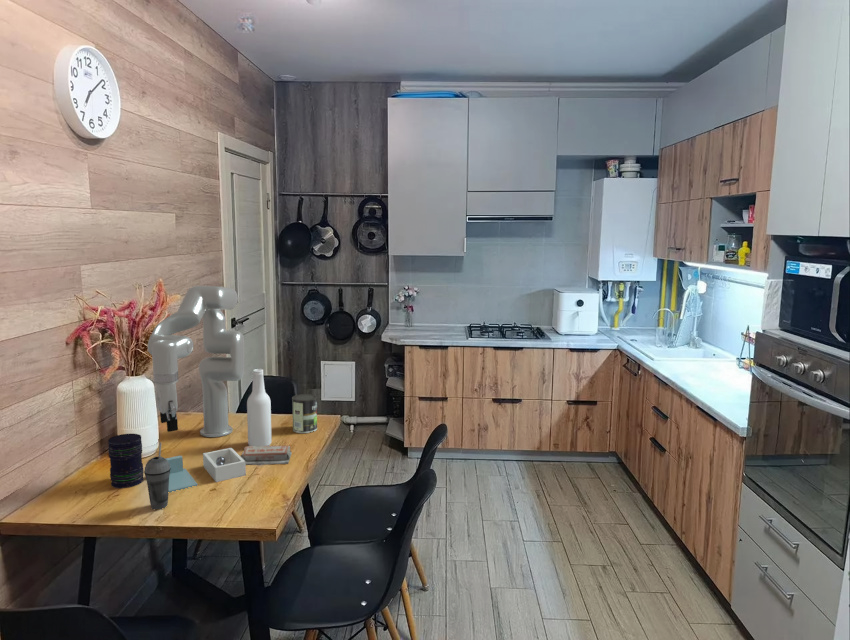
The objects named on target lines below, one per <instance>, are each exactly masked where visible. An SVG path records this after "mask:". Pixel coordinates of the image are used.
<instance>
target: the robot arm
mask: <svg viewBox="0 0 850 640" xmlns="http://www.w3.org/2000/svg"><path fill="white" fill-rule="evenodd" d="M238 302H239V296H238V293H237V291H236V290H235V289H234V288H232V287H226V286H218V285H195V286H192V287H190V288H189V289H188V290H187V291H186V293H185V295H184V298H183V299H182V302H181V303H180V305H179V307H178V309H177V311H176V312H174V313H172V314H171V315H169V316H168V317H165V318H164V319H162V320H161V321H160V322H159V323H158V324H156V325H155V327H154V329H153V330H152V333H151V334H150V335H149V339H148V342H147V352H148V353H149V354H150V355H151V358H152V359H151V360H152V375H153V384H155V386H156V387H155V393H156V394H155V396H156V398H155V399H156V400H155V401H156V402H155V403H156V408H157V410H158V411H159V413H160V423H161V424H164V423H166V430H167V432H168V433H171V432H176V431H178V430H179V428H178V427H179V425H178V423H179V422H178V415H177V411H178V407H179V406H178V392H177V386H176V383H178V382H179V381H180V380H179V365H178V364H179V362H178V360H179V359H184V358H187V357H188V356H190V355H191V353H192V352H193V349H194V341H193V340H192V338H191V337H189V336H187V335H178V334H177V333H180V332H183V331H187V330H190V329H192V328H194V327H197V326H199V324H200V322H201V321H202V325H203V327H202V328H203V329H202V337H203V338H202V341H203V342H202V343H203V349H204V352H205V353H208V354H218V355H230V357H229V356H228V357H227V356H207V357H204V358H203V359H201V361H200V362H199V365H198V371H199V377H200V380H201V388H202V406H203V407H202V411H203V427H202V428H201V429H200V430H199V434H200V436H202V437H205V438H219V437H223V436H227V435H230V434H231V433H232V432H233V426H231V425H230V424H229V403H228V402H229V401H228V399H229V398H228V397H229V396H228V389H227V386H226V385H225V383H224V382H237V381H238V382H239V381H240V380H242V379H244V378H243V377H244V376H245V369H246V367H245V363H246V362H245V359H246V358H245V355H246V351H245V349H246V347H245V346H246V345H245V337H244V335H243V333H242V332H241V331H238V330H227V329H226V317H225V314H224V313H223V311H222V310H225V311H226V310H228V311H229V310H230V311H231V310H234V309H235V308H236V307H237V305H238ZM174 334H177V335H174Z"/></svg>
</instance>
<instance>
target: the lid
mask: <svg viewBox="0 0 850 640" xmlns="http://www.w3.org/2000/svg"><path fill="white" fill-rule="evenodd" d="M183 458H184V457H183V456H182V454H181V455H175V456H171V457H167V458H166V457H165V459H166V460H167V461H168V462H169V464H170V468H171V470H170V476H169V492H170V493H173V492H172V491H174V492H177V491H176V490H179V491H181V489H183V490H186V489H185V488H187V489H189V488H188V487H191V488H193V487H192V486H196V487H198V486H199V484H198V483H197V482H196V480H195V478H193V476H192V475H191V474H190V472H189V471H188V470H187V469H186V468H184V463H183V462H184V461H183V460H184V459H183ZM197 485H198V486H197Z"/></svg>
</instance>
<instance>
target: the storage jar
mask: <svg viewBox="0 0 850 640" xmlns="http://www.w3.org/2000/svg"><path fill="white" fill-rule="evenodd" d="M142 442H143V441H142V435H141V434H138V433H122V434H117V435H115V436H112V437H110V438H109V439H108V441H107V443H108V446H107V447H108V448H107V449H108V450H107V451H108V457H109V462H110V468H109V471H110V472H109V478H110V485H111V487H112V488H114V489H129V488H132V487H136V486H138V485H141V484H142V483H143V482H144V471H145V468H144V463H143V459H142V458H143V457H142V453H143V443H142Z"/></svg>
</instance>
